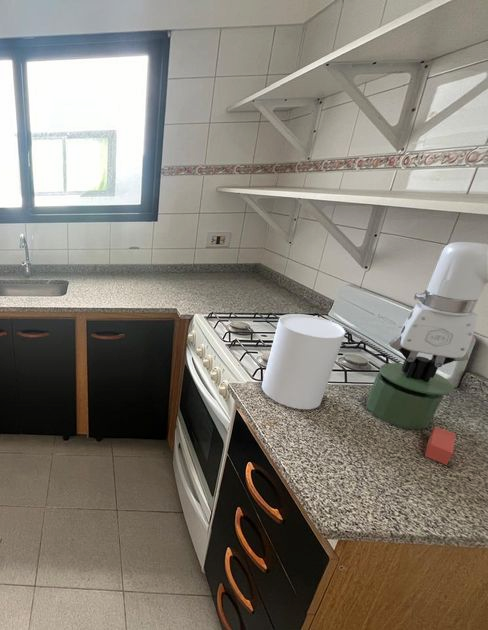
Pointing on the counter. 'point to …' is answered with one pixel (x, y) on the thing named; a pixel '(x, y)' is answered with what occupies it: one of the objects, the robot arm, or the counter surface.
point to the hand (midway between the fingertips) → (415, 376)
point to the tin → (401, 404)
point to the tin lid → (417, 378)
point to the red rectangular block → (440, 445)
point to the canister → (302, 360)
